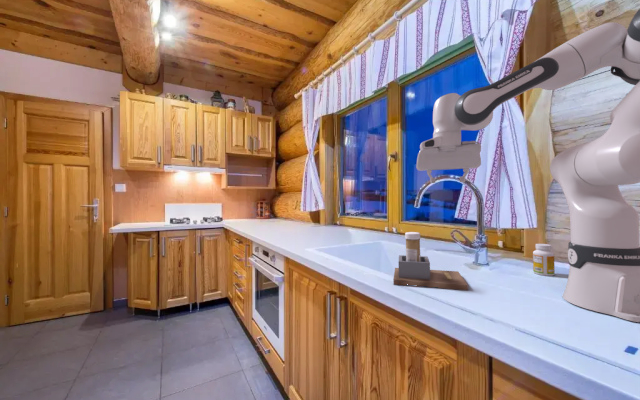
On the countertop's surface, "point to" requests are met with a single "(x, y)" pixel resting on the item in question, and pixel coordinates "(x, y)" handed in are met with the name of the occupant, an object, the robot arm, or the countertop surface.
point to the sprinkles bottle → (412, 246)
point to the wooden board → (435, 280)
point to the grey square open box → (414, 268)
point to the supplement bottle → (543, 260)
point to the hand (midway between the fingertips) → (447, 182)
